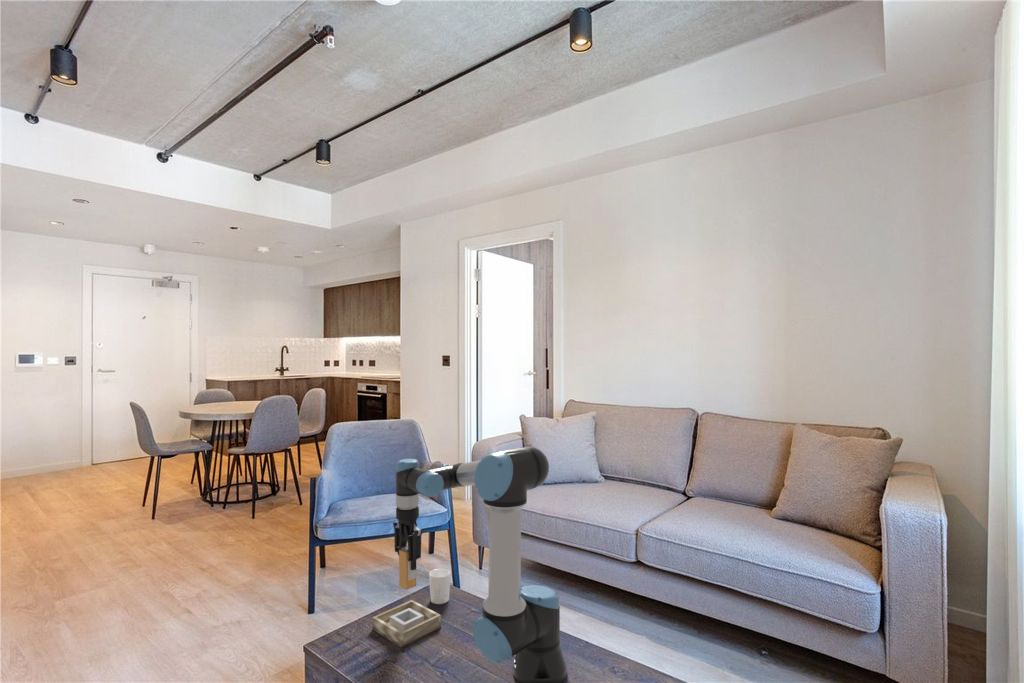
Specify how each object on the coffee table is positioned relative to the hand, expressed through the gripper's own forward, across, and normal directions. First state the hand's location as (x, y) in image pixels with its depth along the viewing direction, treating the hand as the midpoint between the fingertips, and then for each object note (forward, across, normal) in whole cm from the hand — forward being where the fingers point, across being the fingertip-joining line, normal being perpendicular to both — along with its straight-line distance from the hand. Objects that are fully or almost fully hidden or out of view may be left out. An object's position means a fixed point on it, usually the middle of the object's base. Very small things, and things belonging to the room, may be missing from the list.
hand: (407, 576), depth 170 cm
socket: (+17, 0, 0) cm, 17 cm away
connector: (+3, 0, 0) cm, 3 cm away
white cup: (+17, +7, -20) cm, 27 cm away
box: (+17, 0, 0) cm, 17 cm away
